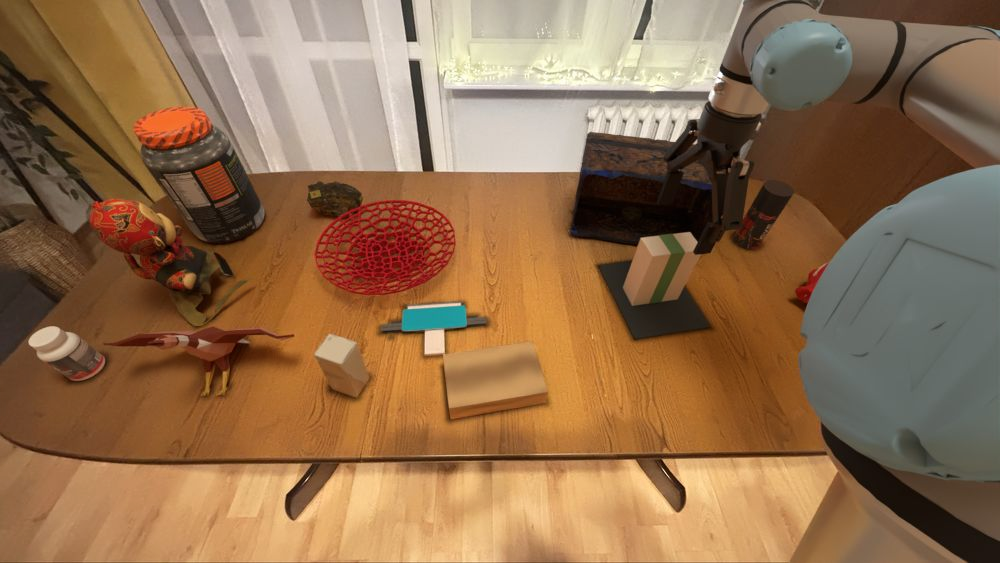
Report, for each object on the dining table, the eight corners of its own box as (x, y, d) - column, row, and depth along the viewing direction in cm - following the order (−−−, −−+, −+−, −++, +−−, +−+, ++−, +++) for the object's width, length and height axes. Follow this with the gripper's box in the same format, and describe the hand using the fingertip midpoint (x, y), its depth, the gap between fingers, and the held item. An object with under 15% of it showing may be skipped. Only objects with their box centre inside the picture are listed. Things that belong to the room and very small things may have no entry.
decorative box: (702, 261, 95) (689, 201, 107) (742, 194, 79) (722, 132, 91) (568, 249, 98) (569, 192, 110) (580, 182, 82) (581, 123, 93)
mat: (710, 327, 81) (711, 326, 81) (634, 339, 79) (634, 338, 79) (664, 257, 94) (665, 256, 94) (597, 265, 92) (598, 264, 92)
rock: (357, 169, 101) (351, 182, 95) (371, 202, 106) (367, 217, 100) (308, 181, 101) (299, 195, 95) (325, 214, 107) (317, 229, 100)
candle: (878, 314, 84) (811, 333, 82) (835, 274, 91) (773, 291, 90) (907, 285, 77) (835, 306, 76) (858, 245, 84) (791, 263, 83)
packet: (652, 256, 73) (703, 249, 75) (640, 237, 77) (690, 231, 78) (632, 306, 84) (677, 299, 85) (622, 287, 87) (666, 281, 89)
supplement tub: (225, 199, 105) (168, 97, 86) (280, 210, 103) (233, 107, 84) (178, 239, 95) (100, 133, 76) (237, 252, 92) (173, 146, 73)
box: (331, 389, 71) (310, 353, 62) (345, 368, 73) (327, 331, 65) (358, 398, 70) (341, 364, 61) (371, 377, 72) (357, 341, 64)
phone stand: (378, 360, 75) (377, 354, 73) (384, 308, 83) (382, 303, 81) (489, 351, 76) (489, 346, 75) (484, 301, 84) (484, 296, 83)
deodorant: (740, 229, 102) (771, 176, 91) (764, 242, 99) (799, 189, 88) (728, 239, 99) (758, 186, 88) (751, 253, 96) (786, 200, 85)
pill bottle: (61, 382, 70) (13, 350, 63) (82, 355, 74) (38, 322, 67) (94, 381, 71) (50, 349, 63) (113, 354, 74) (73, 321, 67)
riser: (545, 403, 70) (548, 391, 67) (450, 419, 67) (448, 408, 64) (531, 353, 76) (533, 340, 73) (444, 366, 74) (442, 354, 71)
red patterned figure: (233, 323, 77) (108, 226, 59) (158, 333, 81) (18, 244, 62) (263, 263, 87) (165, 164, 68) (196, 274, 90) (84, 182, 72)
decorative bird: (85, 432, 61) (37, 347, 55) (166, 359, 78) (136, 287, 71) (283, 421, 63) (259, 337, 57) (321, 352, 80) (306, 281, 73)
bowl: (324, 325, 80) (316, 308, 76) (319, 229, 98) (312, 212, 95) (472, 291, 86) (471, 274, 82) (441, 207, 105) (439, 191, 101)
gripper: (668, 72, 65) (633, 187, 80) (766, 155, 48) (698, 280, 64) (711, 70, 66) (668, 184, 82) (822, 150, 49) (741, 274, 65)
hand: (681, 226), depth 73 cm, fingers open, 13 cm apart
